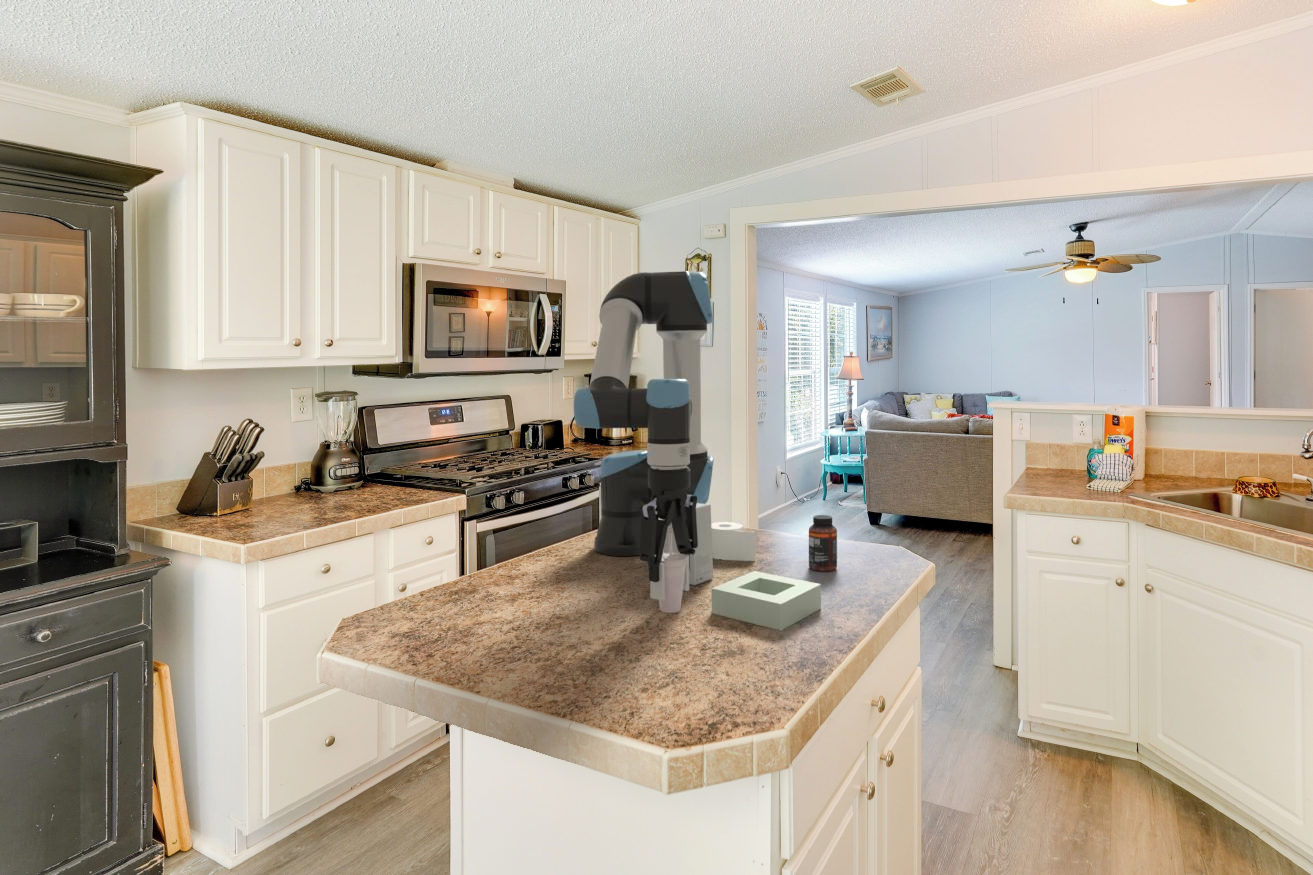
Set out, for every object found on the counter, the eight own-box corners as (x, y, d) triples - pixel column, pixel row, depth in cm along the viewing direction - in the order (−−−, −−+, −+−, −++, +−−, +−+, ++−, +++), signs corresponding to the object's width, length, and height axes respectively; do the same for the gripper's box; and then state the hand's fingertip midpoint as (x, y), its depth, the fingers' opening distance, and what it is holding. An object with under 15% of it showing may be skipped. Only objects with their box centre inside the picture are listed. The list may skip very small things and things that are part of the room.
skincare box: (713, 579, 152) (713, 504, 150) (693, 586, 147) (692, 509, 146) (683, 572, 158) (682, 499, 156) (661, 578, 153) (661, 504, 151)
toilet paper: (755, 561, 166) (755, 530, 165) (705, 559, 168) (705, 529, 167) (757, 552, 174) (757, 522, 173) (709, 550, 176) (709, 521, 175)
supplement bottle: (834, 564, 162) (835, 513, 161) (838, 572, 156) (839, 519, 155) (807, 564, 163) (807, 513, 161) (809, 572, 157) (810, 519, 156)
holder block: (711, 613, 132) (711, 588, 131) (754, 593, 142) (754, 570, 142) (780, 630, 123) (781, 603, 122) (820, 608, 133) (821, 584, 133)
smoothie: (692, 605, 136) (692, 530, 134) (682, 617, 130) (681, 538, 128) (659, 602, 138) (658, 528, 136) (647, 613, 132) (646, 535, 130)
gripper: (649, 474, 121) (651, 612, 124) (717, 462, 136) (718, 584, 138) (616, 470, 126) (618, 603, 128) (685, 459, 141) (686, 577, 143)
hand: (670, 593), depth 133 cm, fingers closed on smoothie, 6 cm apart
